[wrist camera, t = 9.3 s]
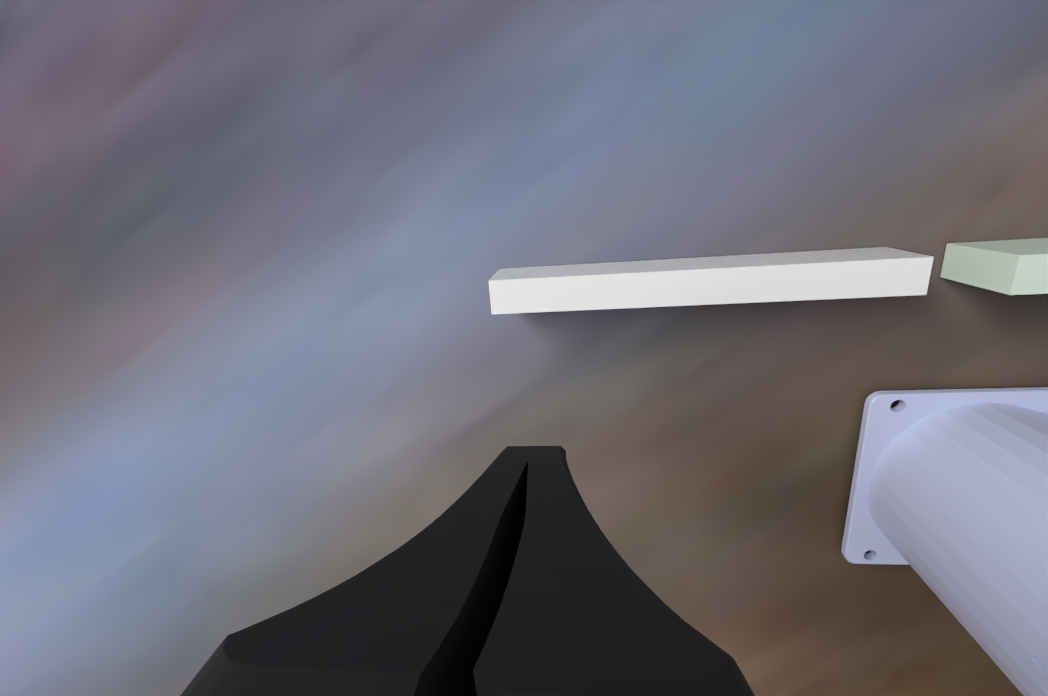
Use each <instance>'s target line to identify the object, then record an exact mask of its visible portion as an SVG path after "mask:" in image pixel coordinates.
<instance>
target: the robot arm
mask: <svg viewBox="0 0 1048 696" xmlns="http://www.w3.org/2000/svg"><path fill="white" fill-rule="evenodd" d="M896 400H899V403H898V405H897V406H895V407H893V408H891V407H890V406H891V404H892V403H893V402H894V401H896ZM870 550H871V551H870ZM867 551H870V552H869V553H866V554H865V552H867ZM841 552H842V554H843V555H844V557H845V558H846V560H847V561H848V562H850V563H854V564H897V565H910V566H911V567H912V568H913V569H914V570H915V572H916V573H917V574H918V575H919V576H920V577H921V578H922V580H923V581H924V582H925V583H926V584H927V585H928V586H929V588H930V589H931V590H932V591H933V592H934V593H935V594H936V596H937V597H938V598H939V599H940V600H941V601H942V603H943V604H944V605H945V606H946V607H947V608H948V609H949V611H950V612H951V613H952V614H953V615H954V616H955V617H956V619H957V620H958V621H959V622H960V623H961V624H962V626H963V627H964V628H965V629H966V630H967V631H968V632H969V634H970V635H971V636H972V637H973V638H974V639H975V640H976V642H977V643H978V644H979V645H980V646H981V647H982V648H983V650H984V651H985V652H986V653H987V654H988V655H989V657H990V658H991V659H992V660H993V661H994V662H995V663H996V665H997V666H998V667H999V668H1000V669H1001V670H1002V671H1003V673H1004V674H1005V675H1006V676H1007V677H1008V678H1009V680H1010V681H1011V682H1012V683H1013V684H1014V685H1015V686H1016V688H1017V689H1018V690H1019V691H1020V692H1021V693H1022V694H1023V696H1048V387H1028V388H984V389H940V390H896V391H877V392H874V393H872V394H870V395H869V396H868V397H867V398H866V401H865V404H864V411H863V417H862V423H861V429H860V436H859V442H858V448H857V454H856V460H855V467H854V473H853V479H852V485H851V492H850V498H849V504H848V510H847V517H846V523H845V529H844V535H843V542H842V548H841ZM180 696H754V694H753V692H752V690H751V688H750V686H749V685H748V683H747V681H746V679H745V677H744V676H743V674H742V672H741V670H740V669H739V667H738V665H737V664H736V662H735V660H734V659H733V658H732V657H731V656H730V655H729V654H727V653H726V652H725V651H723V650H722V649H721V648H719V647H718V646H717V645H715V644H714V643H713V642H711V641H710V640H709V639H707V638H706V637H705V636H703V635H702V634H701V633H700V632H698V631H697V630H696V629H694V628H693V627H692V626H690V625H689V624H688V623H686V622H685V621H684V620H683V619H681V618H680V617H679V616H678V615H677V614H676V613H675V612H674V611H672V610H671V609H670V608H669V607H668V606H667V605H666V604H665V603H664V602H663V601H662V600H661V599H660V598H659V597H658V596H657V595H656V594H655V593H654V592H653V591H652V590H651V589H650V588H649V587H648V586H647V585H646V584H645V583H644V582H643V581H642V580H641V579H640V578H639V577H638V576H637V575H636V574H635V573H634V572H633V571H632V569H631V568H630V567H629V566H628V565H627V564H626V562H625V561H624V560H623V559H622V558H621V556H620V555H619V554H618V553H617V551H616V550H615V549H614V547H613V546H612V545H611V544H610V542H609V541H608V540H607V538H606V537H605V535H604V534H603V532H602V531H601V530H600V528H599V527H598V525H597V523H596V522H595V520H594V519H593V517H592V515H591V514H590V512H589V510H588V509H587V507H586V505H585V503H584V501H583V500H582V498H581V496H580V494H579V491H578V489H577V487H576V485H575V483H574V481H573V479H572V476H571V473H570V471H569V468H568V465H567V461H566V451H565V450H564V449H563V448H562V447H561V446H509V447H506V448H505V449H504V450H503V451H502V452H501V454H500V455H499V456H498V457H497V458H496V459H495V460H494V461H493V463H492V464H491V465H490V466H489V467H488V468H487V469H486V471H485V472H484V473H483V474H482V475H481V476H480V477H479V478H478V479H477V480H476V481H475V482H474V483H473V485H472V486H471V487H470V488H469V489H468V490H467V491H466V492H465V493H464V494H463V495H462V496H461V497H460V498H459V499H458V500H457V501H456V502H455V503H454V504H453V505H451V506H450V507H449V508H448V509H447V510H446V511H445V512H444V513H443V514H442V515H441V516H440V517H438V518H437V519H436V520H435V521H434V522H433V523H431V524H430V525H429V526H428V527H426V528H425V529H424V530H423V531H421V532H420V533H419V534H417V535H416V536H415V537H413V538H412V539H411V540H409V541H408V542H407V543H405V544H404V545H402V546H401V547H400V548H398V549H397V550H395V551H394V552H392V553H390V554H389V555H387V556H386V557H384V558H383V559H381V560H379V561H378V562H376V563H375V564H373V565H372V566H370V567H368V568H367V569H365V570H364V571H362V572H361V573H359V574H357V575H355V576H354V577H352V578H350V579H348V580H346V581H345V582H343V583H341V584H339V585H337V586H336V587H334V588H332V589H330V590H328V591H326V592H324V593H322V594H320V595H318V596H316V597H314V598H312V599H310V600H308V601H306V602H304V603H302V604H300V605H298V606H296V607H294V608H291V609H289V610H287V611H285V612H282V613H280V614H278V615H275V616H273V617H271V618H268V619H266V620H264V621H261V622H259V623H257V624H255V625H252V626H250V627H248V628H245V629H243V630H240V631H238V632H235V633H233V634H230V635H228V636H227V637H226V638H225V640H224V641H223V642H222V643H221V644H220V646H219V647H218V648H217V649H216V651H215V652H214V653H213V654H212V656H211V657H210V658H209V660H208V661H207V662H206V663H205V665H204V666H203V667H202V669H201V670H200V671H199V672H198V674H197V675H196V676H195V678H194V679H193V680H192V681H191V683H190V684H189V685H188V687H187V688H186V689H185V690H184V692H183V693H182V694H181V695H180Z"/></svg>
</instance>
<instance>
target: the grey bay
mask: <svg viewBox="0 0 1048 696" xmlns="http://www.w3.org/2000/svg"><path fill="white" fill-rule="evenodd" d="M932 263H933V257H932V256H927V255H922V254H917V253H913V252H908V251H903V250H898V249H893V248H888V247H876V248H858V249H840V250H822V251H805V252H787V253H769V254H752V255H734V256H716V257H699V258H681V259H663V260H645V261H628V262H610V263H592V264H575V265H557V266H539V267H522V268H504V269H499V270H498V271H497V272H496V273H495V274H494V275H493V276H492V277H491V279H490V280H489V291H490V301H491V311H492V314H511V313H534V312H556V311H578V310H601V309H623V308H645V307H668V306H690V305H712V304H735V303H757V302H779V301H801V300H824V299H846V298H868V297H891V296H913V295H926V294H927V289H928V284H929V279H930V273H931V268H932Z"/></svg>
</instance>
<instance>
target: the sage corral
mask: <svg viewBox="0 0 1048 696" xmlns="http://www.w3.org/2000/svg"><path fill="white" fill-rule="evenodd" d="M940 277H941V278H945V279H949V280H953V281H957V282H961V283H964V284H968V285H972V286H976V287H980V288H984V289H988V290H992V291H996V292H999V293H1003V294H1007V295H1026V294H1048V238H1035V239H1017V240H999V241H982V242H964V243H947V245H946V250H945V256H944V261H943V266H942V271H941V276H940Z"/></svg>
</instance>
